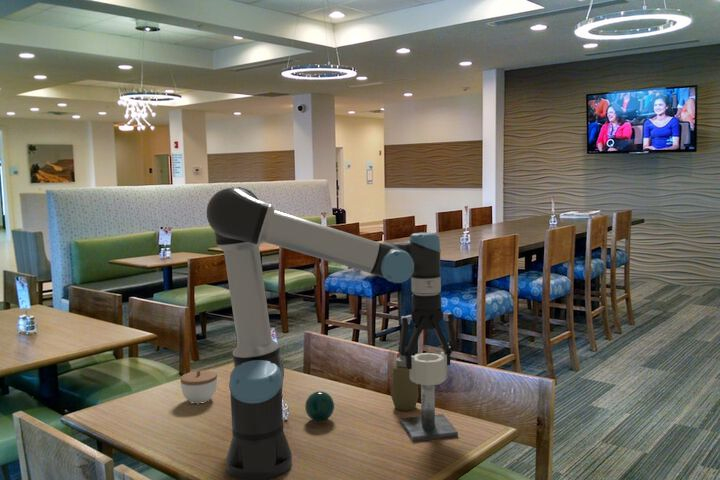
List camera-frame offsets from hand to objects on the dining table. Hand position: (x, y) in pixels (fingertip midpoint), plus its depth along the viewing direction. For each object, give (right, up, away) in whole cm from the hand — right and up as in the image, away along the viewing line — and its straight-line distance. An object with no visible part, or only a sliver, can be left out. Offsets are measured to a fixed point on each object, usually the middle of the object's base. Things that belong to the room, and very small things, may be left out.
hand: (428, 378), depth 155 cm
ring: (0, 0, 0) cm, 0 cm away
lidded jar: (-67, -13, +26) cm, 73 cm away
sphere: (-29, -14, +9) cm, 33 cm away
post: (0, -14, +1) cm, 14 cm away
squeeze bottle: (-5, -12, +17) cm, 21 cm away
